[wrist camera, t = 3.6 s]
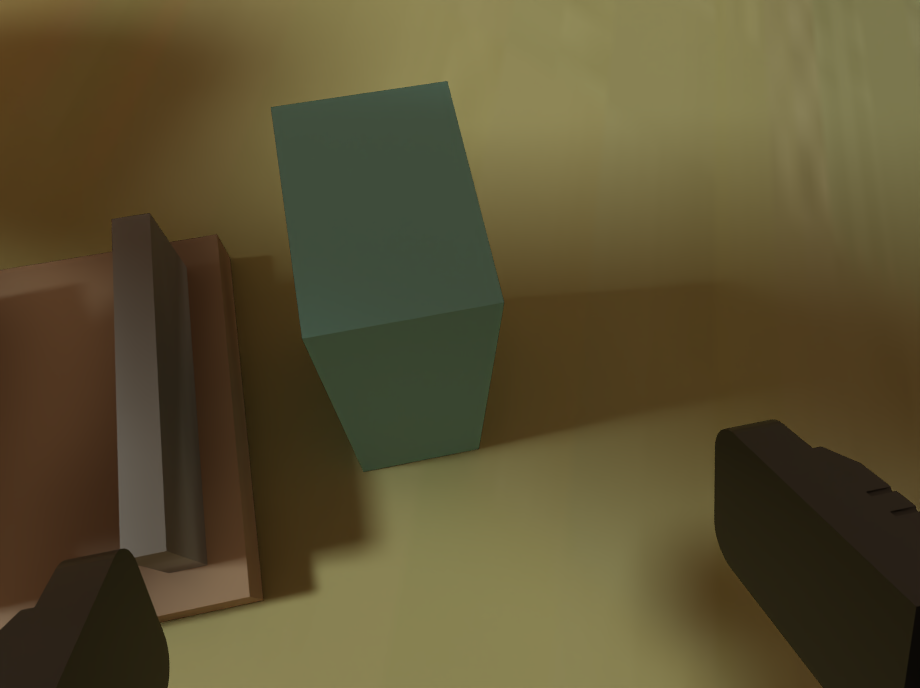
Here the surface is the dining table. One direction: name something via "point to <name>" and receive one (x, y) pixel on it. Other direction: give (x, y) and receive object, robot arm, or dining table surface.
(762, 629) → the dining table surface
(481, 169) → the dining table surface
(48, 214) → the dining table surface
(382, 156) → the teal block
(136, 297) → the book rack
